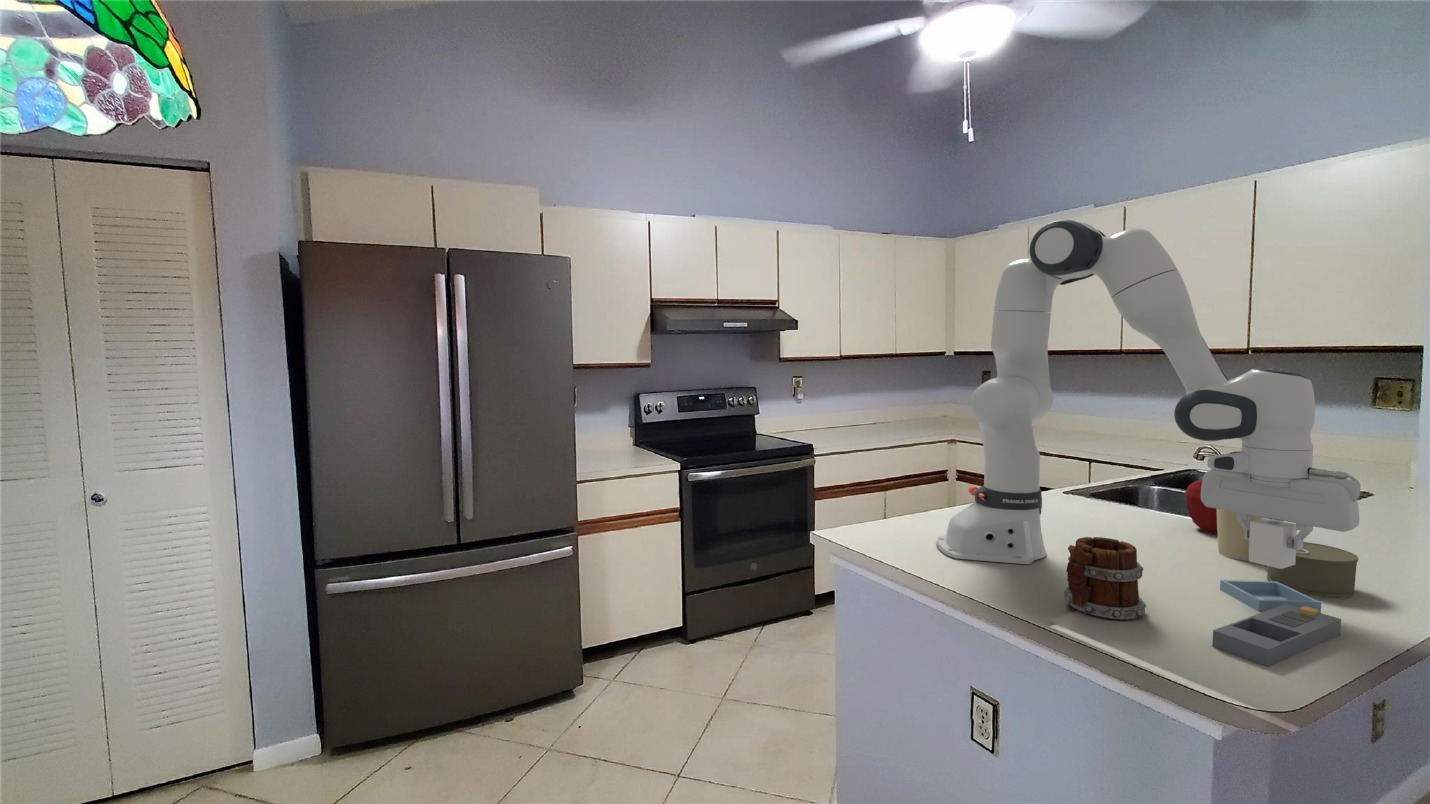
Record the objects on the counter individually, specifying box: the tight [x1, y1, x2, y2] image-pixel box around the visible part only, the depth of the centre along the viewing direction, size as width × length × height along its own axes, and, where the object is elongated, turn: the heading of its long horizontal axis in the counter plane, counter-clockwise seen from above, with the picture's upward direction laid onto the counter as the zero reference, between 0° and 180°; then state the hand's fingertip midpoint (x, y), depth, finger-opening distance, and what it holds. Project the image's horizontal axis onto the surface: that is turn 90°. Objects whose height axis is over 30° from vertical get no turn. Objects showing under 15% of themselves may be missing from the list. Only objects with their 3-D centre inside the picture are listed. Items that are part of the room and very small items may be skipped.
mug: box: [1063, 536, 1147, 622], centre depth 102 cm, size 12×14×15 cm
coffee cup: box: [1216, 509, 1270, 562], centre depth 129 cm, size 9×9×12 cm
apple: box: [1184, 479, 1218, 534], centre depth 146 cm, size 12×12×13 cm
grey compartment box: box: [1211, 603, 1342, 667], centre depth 91 cm, size 25×6×4 cm, turn 115°
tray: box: [1219, 579, 1322, 613], centre depth 104 cm, size 9×9×3 cm
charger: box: [1248, 518, 1298, 569], centre depth 103 cm, size 4×4×7 cm
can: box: [1266, 541, 1359, 599], centre depth 112 cm, size 12×12×7 cm
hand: (1272, 544), depth 103 cm, fingers closed on charger, 4 cm apart
